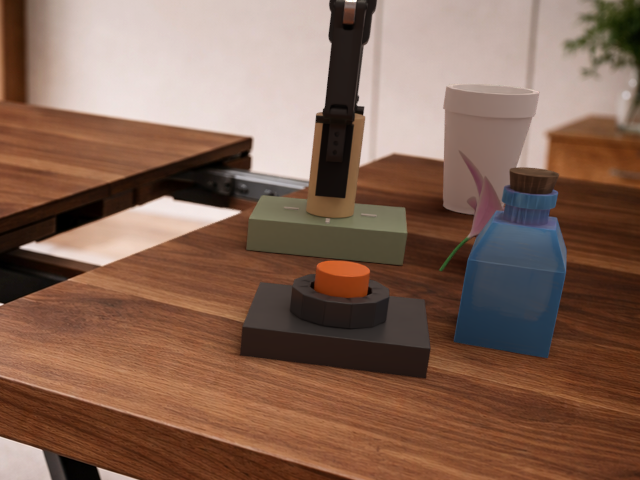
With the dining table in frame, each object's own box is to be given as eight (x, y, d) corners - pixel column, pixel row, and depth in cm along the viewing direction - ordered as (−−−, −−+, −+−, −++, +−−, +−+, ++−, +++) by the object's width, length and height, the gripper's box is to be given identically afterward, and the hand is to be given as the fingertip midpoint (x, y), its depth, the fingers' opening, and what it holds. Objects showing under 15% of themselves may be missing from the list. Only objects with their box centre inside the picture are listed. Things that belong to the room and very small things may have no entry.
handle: (307, 205, 92) (318, 107, 89) (354, 209, 91) (366, 110, 88) (304, 215, 88) (314, 113, 85) (352, 219, 87) (365, 116, 84)
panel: (400, 237, 94) (405, 205, 93) (402, 265, 85) (407, 231, 84) (259, 224, 97) (261, 193, 96) (246, 250, 88) (248, 216, 87)
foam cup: (530, 220, 102) (553, 96, 97) (443, 217, 102) (463, 93, 97) (498, 199, 111) (519, 85, 106) (419, 197, 111) (436, 82, 106)
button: (367, 287, 67) (370, 263, 66) (366, 303, 63) (370, 278, 63) (315, 281, 68) (318, 257, 67) (312, 297, 64) (314, 272, 64)
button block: (420, 327, 70) (428, 275, 69) (425, 380, 61) (435, 321, 60) (257, 309, 73) (262, 258, 71) (239, 357, 64) (244, 300, 62)
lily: (519, 316, 76) (592, 212, 74) (391, 239, 79) (458, 137, 77) (510, 315, 88) (573, 225, 86) (398, 248, 91) (457, 159, 89)
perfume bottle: (453, 343, 67) (482, 174, 63) (462, 316, 73) (489, 159, 68) (547, 359, 65) (584, 186, 61) (549, 331, 70) (583, 169, 66)
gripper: (410, -88, 72) (370, 215, 80) (408, -77, 87) (375, 175, 96) (309, -91, 73) (281, 207, 82) (325, -79, 89) (300, 169, 98)
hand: (332, 189), depth 89 cm, fingers closed on handle, 4 cm apart
